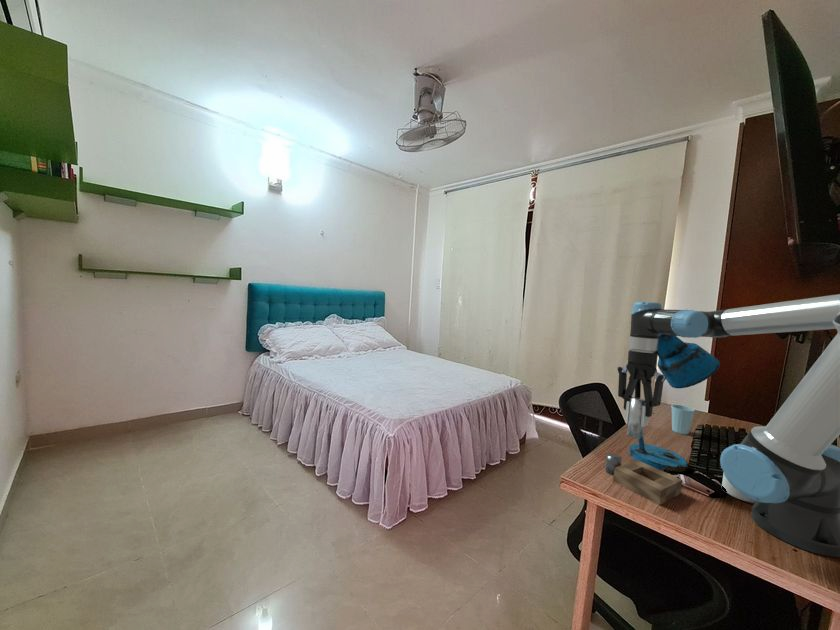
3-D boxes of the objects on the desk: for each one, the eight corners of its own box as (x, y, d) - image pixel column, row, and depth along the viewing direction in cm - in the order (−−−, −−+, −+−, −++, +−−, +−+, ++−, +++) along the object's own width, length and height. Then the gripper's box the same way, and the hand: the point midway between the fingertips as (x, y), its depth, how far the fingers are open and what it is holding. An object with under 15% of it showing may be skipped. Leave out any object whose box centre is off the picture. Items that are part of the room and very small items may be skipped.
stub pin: (622, 474, 100) (624, 458, 100) (615, 476, 98) (617, 460, 98) (609, 467, 103) (611, 452, 103) (602, 470, 101) (603, 454, 101)
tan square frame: (680, 493, 91) (682, 479, 91) (659, 505, 85) (660, 490, 85) (635, 472, 101) (636, 459, 101) (613, 480, 96) (614, 467, 95)
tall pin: (644, 437, 103) (648, 400, 103) (638, 439, 101) (641, 401, 101) (631, 432, 107) (634, 396, 106) (624, 434, 105) (628, 397, 104)
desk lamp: (717, 479, 100) (735, 334, 97) (636, 465, 105) (651, 327, 102) (688, 455, 115) (704, 329, 112) (619, 444, 121) (632, 324, 118)
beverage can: (770, 507, 87) (776, 464, 87) (734, 501, 89) (740, 459, 88) (746, 489, 95) (751, 450, 94) (714, 484, 97) (719, 445, 96)
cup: (694, 433, 136) (697, 409, 136) (688, 437, 132) (691, 412, 131) (672, 426, 143) (675, 403, 142) (666, 430, 138) (668, 406, 138)
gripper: (680, 355, 98) (672, 431, 99) (621, 346, 112) (615, 413, 113) (667, 355, 94) (660, 435, 95) (609, 346, 109) (603, 415, 110)
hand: (636, 423), depth 104 cm, fingers closed on tall pin, 4 cm apart
